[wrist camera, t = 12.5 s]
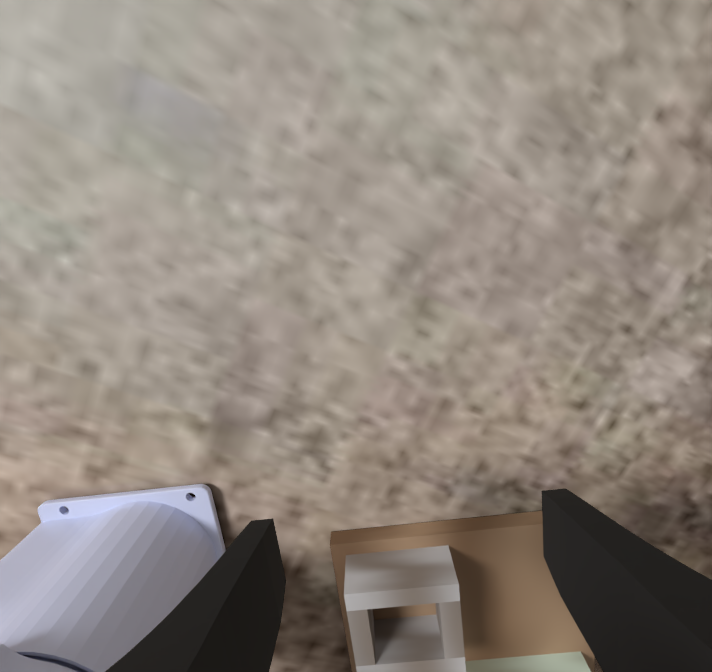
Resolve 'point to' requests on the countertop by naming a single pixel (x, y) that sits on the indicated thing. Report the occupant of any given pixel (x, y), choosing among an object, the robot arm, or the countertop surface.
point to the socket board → (454, 598)
